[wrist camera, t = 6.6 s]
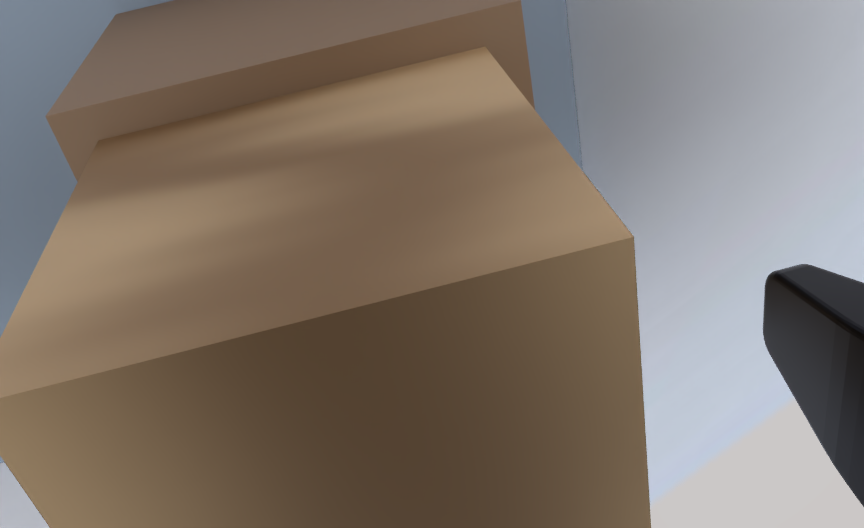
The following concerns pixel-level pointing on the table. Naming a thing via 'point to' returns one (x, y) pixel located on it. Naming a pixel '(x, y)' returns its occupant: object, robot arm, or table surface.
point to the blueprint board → (65, 49)
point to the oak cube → (334, 322)
